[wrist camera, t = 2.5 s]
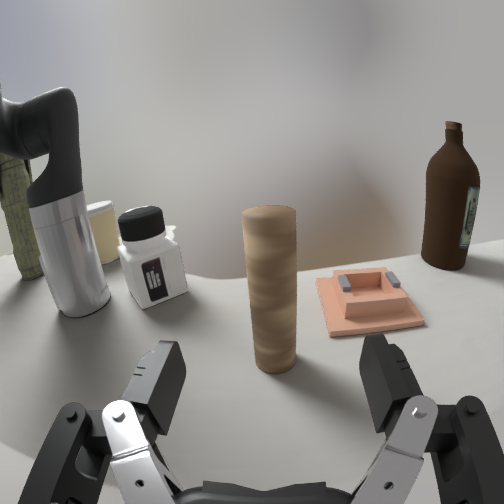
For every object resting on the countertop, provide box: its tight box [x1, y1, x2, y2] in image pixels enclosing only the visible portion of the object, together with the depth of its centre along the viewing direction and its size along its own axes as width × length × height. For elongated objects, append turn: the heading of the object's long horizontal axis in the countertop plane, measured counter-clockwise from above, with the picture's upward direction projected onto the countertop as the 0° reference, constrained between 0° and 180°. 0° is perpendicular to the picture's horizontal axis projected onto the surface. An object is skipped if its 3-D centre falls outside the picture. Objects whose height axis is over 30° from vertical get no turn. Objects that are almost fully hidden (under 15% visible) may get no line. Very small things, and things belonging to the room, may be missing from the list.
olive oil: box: [421, 121, 480, 270], centre depth 37 cm, size 11×11×25 cm
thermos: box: [0, 153, 44, 281], centre depth 43 cm, size 9×12×35 cm
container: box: [117, 206, 188, 309], centre depth 38 cm, size 8×8×13 cm
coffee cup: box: [87, 201, 120, 265], centre depth 53 cm, size 9×9×12 cm
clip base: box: [316, 267, 424, 337], centre depth 33 cm, size 12×12×4 cm
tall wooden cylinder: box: [242, 205, 297, 374], centre depth 23 cm, size 4×4×15 cm
